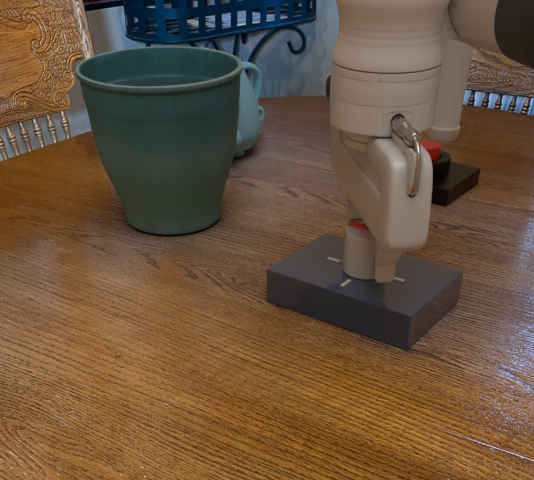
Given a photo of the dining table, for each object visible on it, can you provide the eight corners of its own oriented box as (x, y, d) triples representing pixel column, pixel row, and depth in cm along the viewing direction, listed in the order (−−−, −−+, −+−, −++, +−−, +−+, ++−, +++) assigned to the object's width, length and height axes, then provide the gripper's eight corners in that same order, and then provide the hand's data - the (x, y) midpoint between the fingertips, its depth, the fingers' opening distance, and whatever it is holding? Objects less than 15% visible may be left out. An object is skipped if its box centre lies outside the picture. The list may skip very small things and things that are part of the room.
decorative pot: (183, 131, 114) (175, 34, 105) (275, 141, 110) (275, 40, 101) (134, 162, 103) (120, 57, 94) (235, 175, 98) (230, 65, 89)
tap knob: (395, 267, 69) (401, 225, 66) (372, 284, 66) (377, 240, 64) (357, 255, 71) (361, 214, 68) (333, 271, 68) (336, 228, 66)
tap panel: (457, 303, 71) (464, 269, 68) (406, 350, 64) (412, 315, 62) (324, 262, 78) (326, 230, 76) (266, 301, 71) (266, 267, 69)
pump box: (477, 184, 96) (483, 154, 93) (445, 207, 90) (451, 175, 87) (399, 167, 101) (403, 137, 98) (364, 187, 95) (367, 156, 92)
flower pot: (249, 246, 81) (246, 82, 70) (93, 251, 80) (63, 86, 69) (243, 189, 94) (239, 44, 83) (108, 193, 94) (86, 47, 82)
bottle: (418, 137, 111) (445, -60, 94) (438, 130, 114) (468, -63, 97) (445, 145, 108) (477, -58, 91) (465, 138, 111) (500, -60, 94)
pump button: (443, 157, 93) (445, 143, 92) (431, 164, 91) (433, 150, 90) (419, 152, 95) (421, 138, 94) (406, 159, 93) (408, 145, 91)
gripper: (464, 135, 51) (435, 305, 61) (386, 69, 66) (372, 214, 76) (380, 141, 51) (364, 312, 60) (320, 73, 66) (315, 218, 75)
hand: (368, 256), depth 68 cm, fingers open, 8 cm apart
